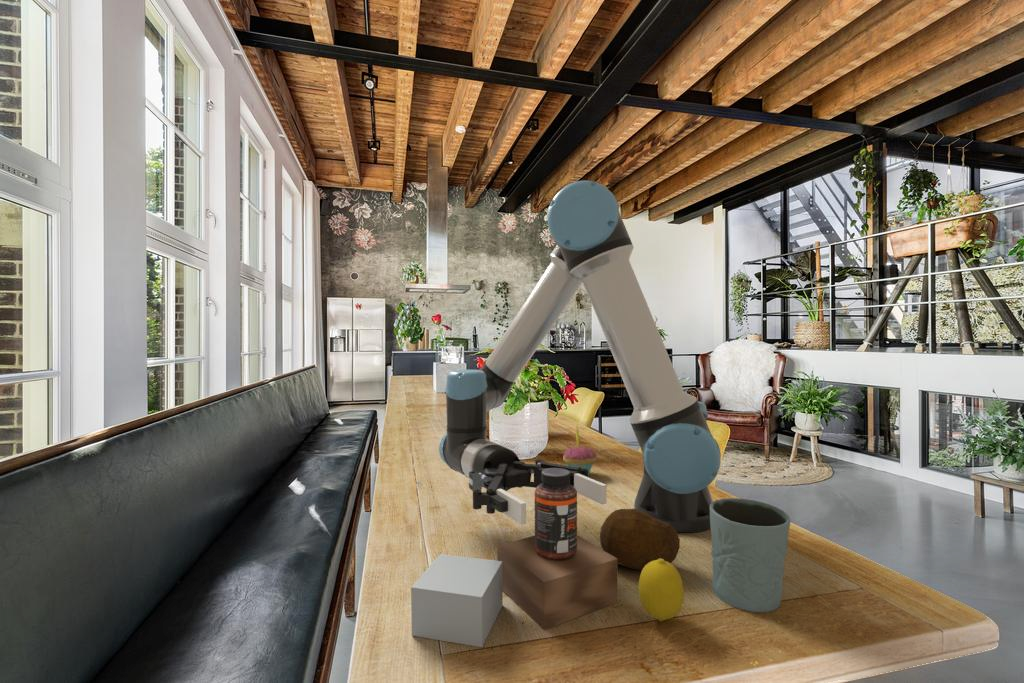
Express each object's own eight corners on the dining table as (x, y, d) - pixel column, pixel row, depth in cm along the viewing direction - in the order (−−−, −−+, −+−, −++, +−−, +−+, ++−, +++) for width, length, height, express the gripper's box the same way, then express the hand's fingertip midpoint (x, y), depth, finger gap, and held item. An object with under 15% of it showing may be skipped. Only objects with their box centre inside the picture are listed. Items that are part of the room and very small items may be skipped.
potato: (671, 588, 71) (671, 528, 70) (591, 569, 76) (591, 513, 76) (680, 563, 78) (681, 508, 78) (607, 547, 84) (607, 496, 84)
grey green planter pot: (728, 570, 76) (729, 493, 75) (800, 597, 68) (802, 511, 68) (695, 594, 69) (695, 509, 69) (771, 627, 62) (772, 532, 61)
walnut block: (564, 565, 78) (564, 527, 77) (617, 602, 67) (617, 558, 67) (497, 586, 71) (497, 545, 71) (544, 630, 61) (544, 582, 61)
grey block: (502, 605, 67) (502, 561, 66) (482, 647, 58) (481, 597, 58) (440, 596, 69) (440, 553, 69) (411, 635, 60) (411, 587, 60)
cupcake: (557, 471, 127) (557, 425, 127) (587, 468, 130) (587, 423, 129) (571, 481, 119) (571, 432, 119) (603, 478, 122) (603, 429, 121)
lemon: (674, 607, 66) (674, 548, 66) (690, 633, 60) (690, 569, 60) (633, 608, 66) (633, 549, 65) (645, 634, 60) (646, 570, 60)
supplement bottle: (575, 563, 66) (575, 479, 65) (531, 559, 67) (530, 477, 67) (578, 543, 72) (578, 466, 71) (538, 540, 73) (537, 464, 72)
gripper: (550, 475, 92) (633, 512, 73) (422, 500, 79) (484, 553, 61) (550, 435, 91) (633, 462, 73) (422, 454, 78) (484, 492, 60)
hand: (566, 503), depth 67 cm, fingers open, 13 cm apart
